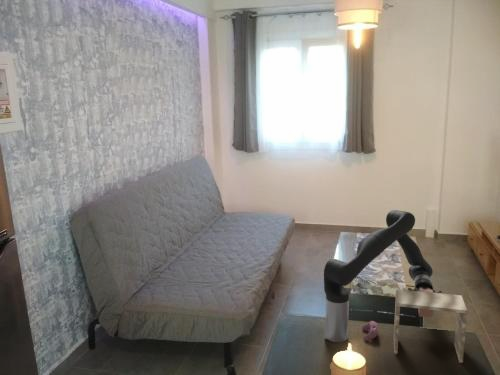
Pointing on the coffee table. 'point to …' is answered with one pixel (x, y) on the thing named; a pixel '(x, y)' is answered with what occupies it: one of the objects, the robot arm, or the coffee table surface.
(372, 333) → the mauve looped ornament
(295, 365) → the coffee table surface
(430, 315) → the terracotta block
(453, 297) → the clear acrylic riser
